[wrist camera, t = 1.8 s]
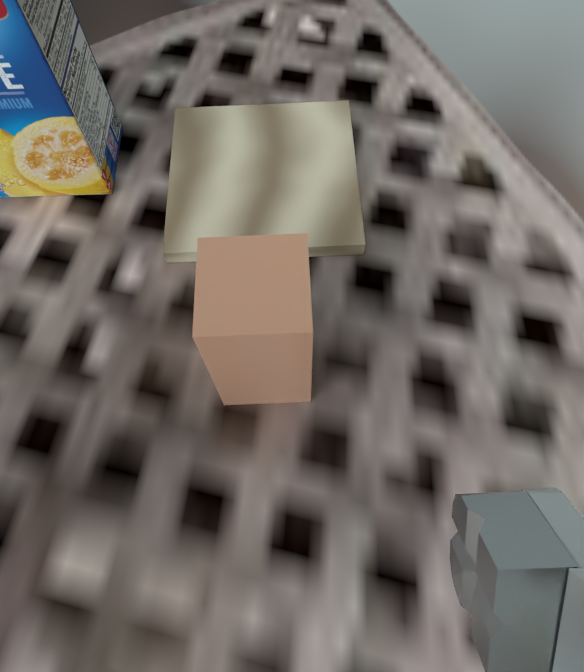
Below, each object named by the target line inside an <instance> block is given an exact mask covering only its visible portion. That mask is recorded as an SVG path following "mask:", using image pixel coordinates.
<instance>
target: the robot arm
mask: <svg viewBox="0 0 584 672" xmlns="http://www.w3.org/2000/svg"><path fill="white" fill-rule="evenodd" d="M452 518H453V520H454V523H455V525H456V527H457V530H458V532H457V533H456V534H455V535H454V537H453V538H452V539H451V540H450V563H451V572H452V579H453V583H454V587H455V591H456V594H457V596H458V599H459V602H460V605H461V606H462V607H463V608H464V609H466V610H467V611H468V612H469V613H470V614H472V618H471V635H472V638H473V640H474V643H475V646H476V648H477V651H478V654H479V656H480V659H481V661H482V664H483V667H484V669H485V672H584V519H583V517H582V516H581V515H580V514H579V512H578V511H577V510H576V509H575V507H574V506H573V505H572V504H571V502H570V501H569V500H568V499H567V497H566V496H565V495H564V494H563V492H562V491H560V490H558V489H556V488H544V489H529V490H521V491H516V492H494V493H473V494H455V498H454V501H453V508H452Z"/></svg>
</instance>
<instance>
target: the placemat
mask: <svg viewBox="0 0 584 672" xmlns="http://www.w3.org/2000/svg"><path fill="white" fill-rule="evenodd" d="M300 233H307V235H308V252H309V257H316V256H339V255H363V254H364V250H365V236H364V228H363V219H362V210H361V202H360V193H359V184H358V176H357V167H356V159H355V150H354V141H353V133H352V124H351V115H350V107H349V100H348V101H326V102H303V103H280V104H258V105H235V106H212V107H190V108H175V116H174V128H173V139H172V151H171V162H170V174H169V185H168V197H167V208H166V220H165V232H164V243H163V255H164V257H165V260H166V262H167V263H174V262H196V258H197V239H198V238H205V237H229V236H253V235H276V234H300Z"/></svg>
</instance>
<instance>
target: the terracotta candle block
mask: <svg viewBox="0 0 584 672" xmlns="http://www.w3.org/2000/svg"><path fill="white" fill-rule="evenodd" d="M192 338H193V340H194V342H195V344H196V346H197V348H198V350H199V353H200V355H201V357H202V359H203V361H204V363H205V365H206V368H207V370H208V372H209V374H210V376H211V378H212V380H213V382H214V385H215V387H216V389H217V391H218V393H219V395H220V397H221V400H222V402H223V404H224V405H241V404H265V403H290V402H311V380H312V352H313V321H312V304H311V287H310V269H309V252H308V235H307V233H300V234H276V235H253V236H229V237H205V238H198V239H197V258H196V278H195V297H194V316H193V335H192Z"/></svg>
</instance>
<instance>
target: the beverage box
mask: <svg viewBox="0 0 584 672" xmlns="http://www.w3.org/2000/svg"><path fill="white" fill-rule="evenodd" d="M122 130H123V128H122V125H121V123H120V120H119V118H118V115H117V113H116V110H115V108H114V105H113V103H112V100H111V98H110V96H109V93H108V91H107V88H106V86H105V83H104V81H103V78H102V76H101V73H100V71H99V68H98V66H97V63H96V61H95V59H94V56H93V54H92V51H91V49H90V46H89V44H88V41H87V39H86V37H85V34H84V31H83V29H82V26H81V24H80V21H79V19H78V17H77V14H76V12H75V9H74V7H73V4H72V2H71V0H0V197H28V196H60V195H92V194H112V191H113V185H114V179H115V172H116V166H117V160H118V154H119V148H120V142H121V136H122Z"/></svg>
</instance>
